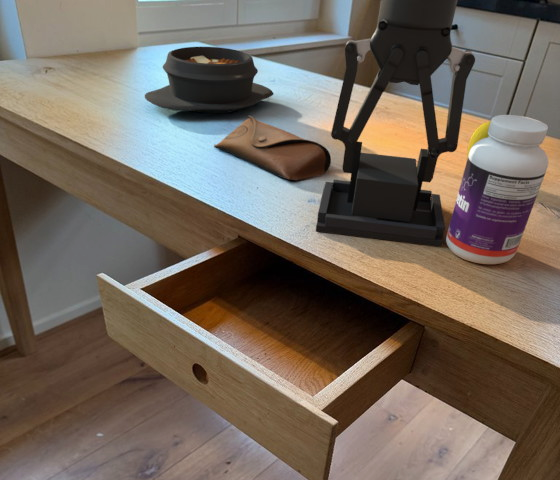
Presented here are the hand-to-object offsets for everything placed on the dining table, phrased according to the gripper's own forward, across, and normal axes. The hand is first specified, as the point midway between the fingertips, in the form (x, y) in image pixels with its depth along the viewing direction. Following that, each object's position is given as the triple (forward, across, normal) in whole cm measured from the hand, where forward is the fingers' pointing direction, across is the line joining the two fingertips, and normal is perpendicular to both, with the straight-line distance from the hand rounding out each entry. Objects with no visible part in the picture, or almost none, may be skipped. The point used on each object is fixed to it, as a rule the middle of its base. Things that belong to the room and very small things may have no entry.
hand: (381, 201), depth 70 cm
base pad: (+2, 0, 0) cm, 2 cm away
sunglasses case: (+2, -17, +16) cm, 24 cm away
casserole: (+2, -32, +41) cm, 52 cm away
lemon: (+2, +15, +20) cm, 25 cm away
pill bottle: (+2, +12, -6) cm, 13 cm away
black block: (0, 0, 0) cm, 0 cm away
